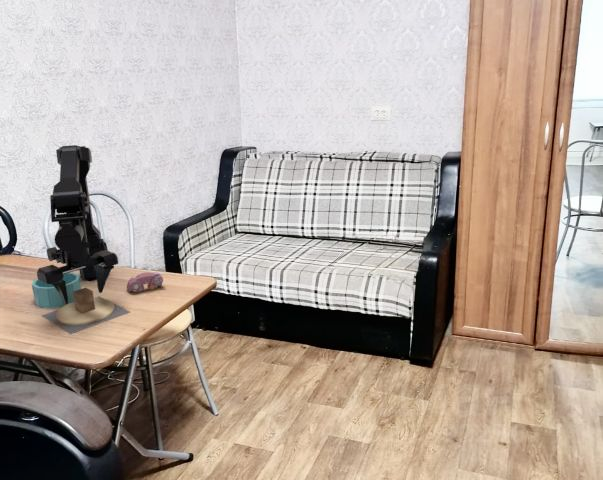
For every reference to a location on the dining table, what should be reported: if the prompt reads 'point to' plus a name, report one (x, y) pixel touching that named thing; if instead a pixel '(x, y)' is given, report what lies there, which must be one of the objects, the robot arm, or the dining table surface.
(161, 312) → the dining table surface
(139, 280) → the purple toy car
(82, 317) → the lid
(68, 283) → the bowl
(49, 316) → the mat
